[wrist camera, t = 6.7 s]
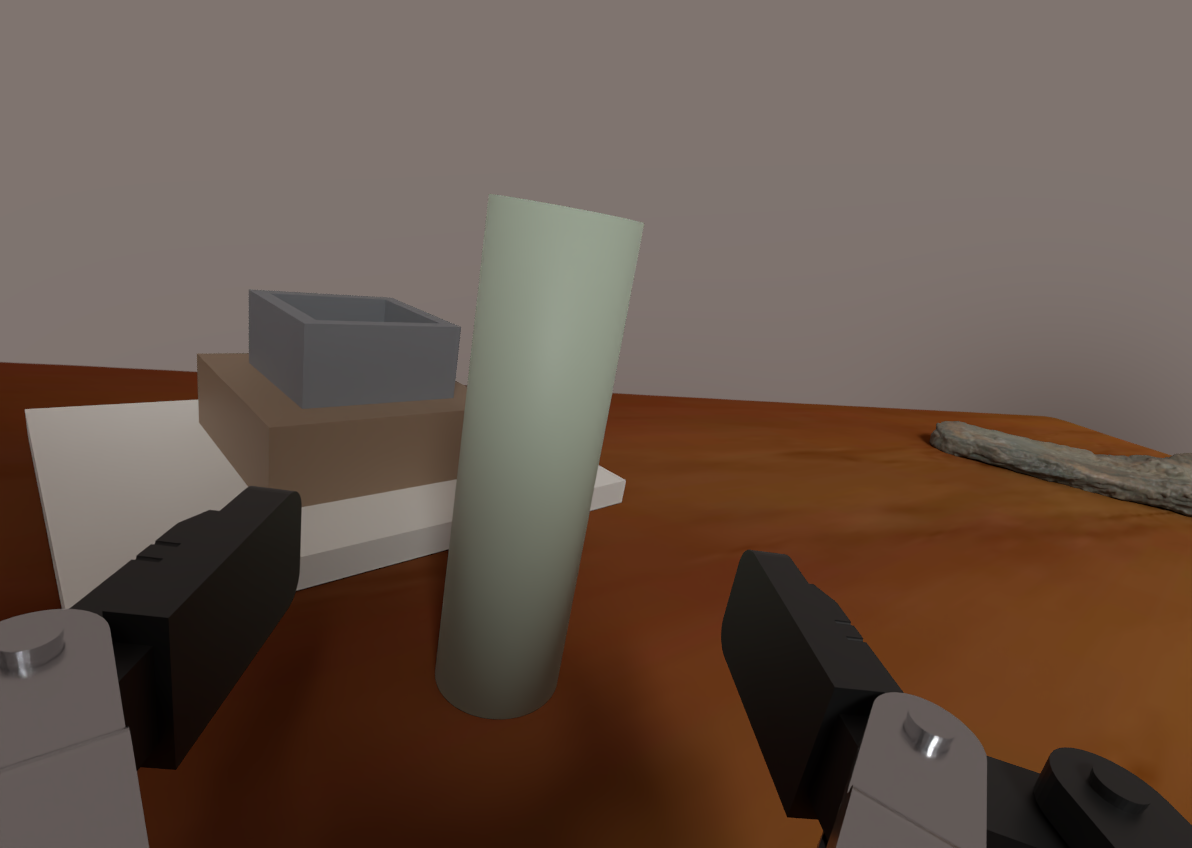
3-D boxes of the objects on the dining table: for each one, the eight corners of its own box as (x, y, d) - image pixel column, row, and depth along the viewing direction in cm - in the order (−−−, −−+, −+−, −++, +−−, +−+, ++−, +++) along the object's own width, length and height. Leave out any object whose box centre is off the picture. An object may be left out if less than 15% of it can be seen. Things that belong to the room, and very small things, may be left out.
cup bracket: (70, 651, 19) (39, 364, 16) (27, 435, 32) (6, 254, 29) (621, 502, 37) (652, 354, 34) (452, 402, 50) (464, 289, 47)
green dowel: (480, 740, 19) (559, 204, 14) (411, 658, 22) (457, 189, 17) (582, 684, 22) (676, 229, 17) (510, 619, 25) (573, 213, 20)
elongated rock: (916, 444, 72) (930, 474, 63) (929, 403, 70) (945, 427, 61) (1285, 517, 62) (1364, 565, 53) (1311, 471, 60) (1397, 512, 51)
